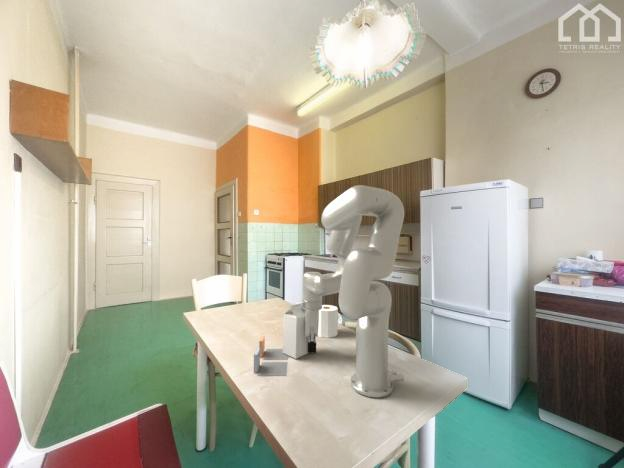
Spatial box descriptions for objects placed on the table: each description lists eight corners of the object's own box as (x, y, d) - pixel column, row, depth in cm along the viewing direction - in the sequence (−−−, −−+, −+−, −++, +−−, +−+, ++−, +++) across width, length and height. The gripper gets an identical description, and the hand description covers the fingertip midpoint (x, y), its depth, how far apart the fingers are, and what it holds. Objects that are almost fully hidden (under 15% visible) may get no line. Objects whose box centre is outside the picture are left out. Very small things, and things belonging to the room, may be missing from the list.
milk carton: (308, 353, 101) (310, 304, 101) (295, 359, 96) (297, 307, 96) (295, 347, 106) (297, 300, 106) (282, 353, 101) (284, 303, 101)
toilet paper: (311, 334, 121) (311, 308, 121) (323, 328, 129) (323, 303, 129) (329, 339, 114) (329, 312, 114) (341, 332, 123) (341, 307, 123)
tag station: (289, 349, 105) (289, 333, 105) (285, 376, 85) (285, 357, 85) (262, 349, 105) (262, 334, 105) (252, 376, 85) (252, 357, 85)
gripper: (303, 299, 109) (302, 343, 109) (302, 309, 94) (301, 361, 94) (321, 299, 109) (320, 343, 109) (323, 309, 94) (322, 361, 94)
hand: (312, 351), depth 101 cm, fingers closed
